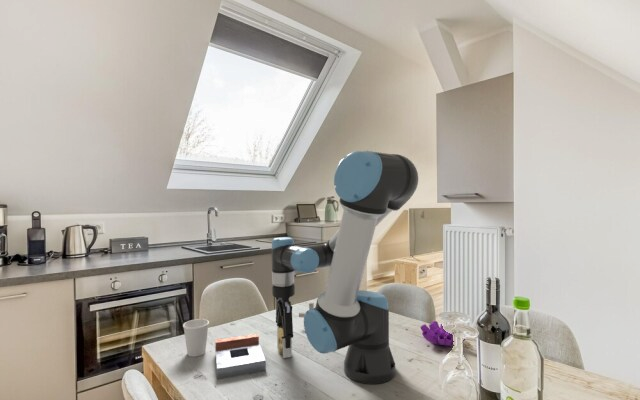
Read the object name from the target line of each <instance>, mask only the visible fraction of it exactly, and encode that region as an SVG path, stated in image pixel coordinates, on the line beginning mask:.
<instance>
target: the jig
mask: <svg viewBox="0 0 640 400" xmlns="http://www.w3.org/2000/svg"><path fill="white" fill-rule="evenodd" d="M214 342H215V343H214V344H215V346H214V348H215V366H216V367H215V369H216V379H217V380H221V379H225V378H232V377H238V376H242V375H248V374H253V373H259V372H264V371H267V366H266V365H267V363H266V362H267V361H266V358H265V355H264V353H263V350H262V347H261V344H260V337H259V334H258V333H253V334H247V335H239V336H232V337H227V338H226V337H225V338H219V339H215V341H214Z"/></svg>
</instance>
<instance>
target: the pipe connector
mask: <svg viewBox="0 0 640 400" xmlns="http://www.w3.org/2000/svg"><path fill="white" fill-rule="evenodd" d="M311 308H313V309H314V308H315V306H314V301H309V302H308V310H310V309H311ZM305 313H306V312H299V313H298V318H304V315H305Z"/></svg>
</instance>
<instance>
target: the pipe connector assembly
mask: <svg viewBox="0 0 640 400" xmlns="http://www.w3.org/2000/svg"><path fill="white" fill-rule="evenodd" d="M442 324H443V323H440V324H439V322H438V321H436V320H433V321H431V322H430V323H429V324H428V325H427V324H426V323H424V324H422V325H421V326H420V327H419V328H420V330H421V332H422V336H423V338H424V339H425V341H427V342H429V343H431V344H434V345H440V346H454V345H453V342H454V341H453V335H452V334H450V333H448V332H446V331H445V330H444V329H443V326H442ZM465 341H466V339H464V340H463V342H462V343H464V342H465Z"/></svg>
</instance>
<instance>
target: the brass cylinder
mask: <svg viewBox="0 0 640 400" xmlns="http://www.w3.org/2000/svg"><path fill="white" fill-rule="evenodd" d="M283 336H284V334H283V326H281V327H279V328H278V346H277V348H278V354H279V355H282V356H283V339H282V338H281V337H283Z"/></svg>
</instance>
